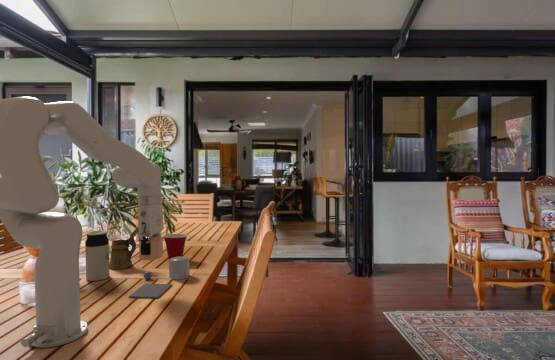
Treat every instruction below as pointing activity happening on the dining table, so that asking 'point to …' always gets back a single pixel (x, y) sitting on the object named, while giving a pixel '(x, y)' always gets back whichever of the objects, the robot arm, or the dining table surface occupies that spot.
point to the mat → (150, 291)
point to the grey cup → (179, 267)
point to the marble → (147, 275)
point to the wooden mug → (122, 252)
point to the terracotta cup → (153, 248)
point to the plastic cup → (175, 244)
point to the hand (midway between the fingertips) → (151, 251)
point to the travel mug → (97, 255)
